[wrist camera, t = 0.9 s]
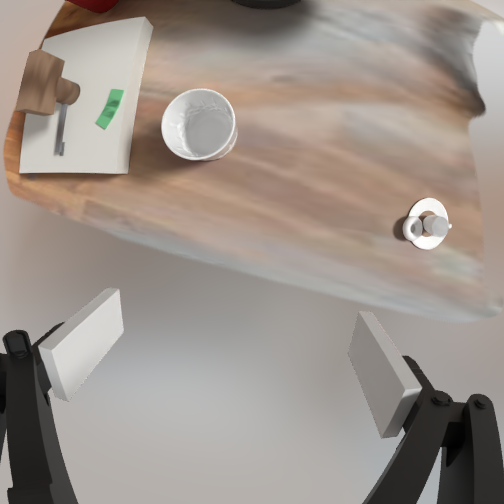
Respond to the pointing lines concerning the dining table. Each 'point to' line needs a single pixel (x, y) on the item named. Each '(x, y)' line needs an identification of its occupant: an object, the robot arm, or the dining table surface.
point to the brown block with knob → (46, 89)
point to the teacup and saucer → (426, 224)
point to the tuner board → (92, 100)
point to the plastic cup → (95, 4)
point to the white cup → (199, 125)
